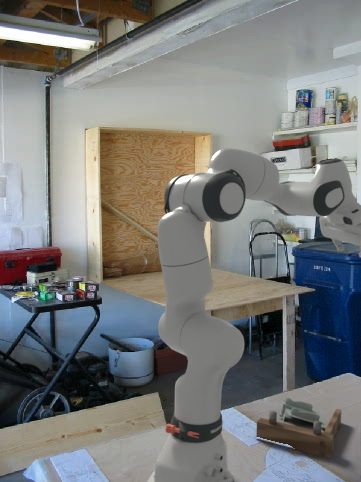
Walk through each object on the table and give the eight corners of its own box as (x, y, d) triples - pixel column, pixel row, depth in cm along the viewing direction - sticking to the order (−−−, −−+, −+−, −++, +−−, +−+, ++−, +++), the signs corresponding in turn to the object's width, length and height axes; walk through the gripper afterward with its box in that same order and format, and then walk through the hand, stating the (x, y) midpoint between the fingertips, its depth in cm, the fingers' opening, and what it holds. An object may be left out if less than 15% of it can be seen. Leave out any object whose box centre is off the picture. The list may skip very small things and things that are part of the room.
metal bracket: (290, 411, 143) (278, 390, 158) (283, 430, 143) (272, 407, 158) (337, 425, 143) (321, 403, 158) (330, 444, 144) (315, 420, 159)
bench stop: (330, 458, 128) (332, 428, 127) (256, 439, 138) (257, 411, 137) (346, 423, 148) (347, 397, 147) (279, 409, 157) (280, 384, 156)
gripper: (310, 211, 153) (321, 251, 158) (358, 221, 135) (369, 266, 140) (326, 203, 155) (336, 242, 160) (375, 212, 137) (385, 256, 141)
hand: (352, 253), depth 150 cm, fingers open, 8 cm apart
